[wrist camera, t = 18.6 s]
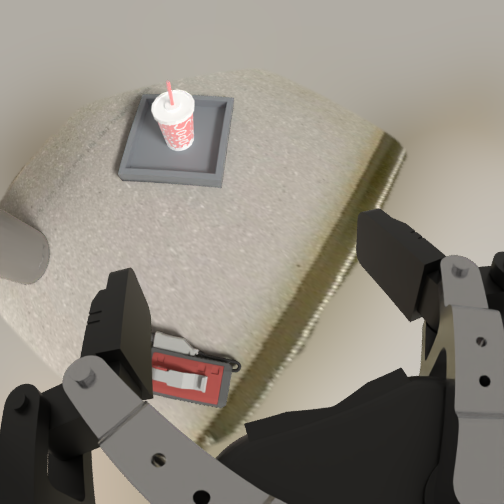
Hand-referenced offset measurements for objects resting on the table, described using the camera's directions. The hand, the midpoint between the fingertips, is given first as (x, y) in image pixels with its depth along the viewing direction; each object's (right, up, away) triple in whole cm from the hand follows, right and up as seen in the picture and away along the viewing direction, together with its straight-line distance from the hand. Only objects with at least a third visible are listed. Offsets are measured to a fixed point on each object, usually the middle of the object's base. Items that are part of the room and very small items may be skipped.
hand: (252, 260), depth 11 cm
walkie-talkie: (-12, -15, +31) cm, 36 cm away
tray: (-12, +19, +38) cm, 44 cm away
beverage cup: (-12, +18, +38) cm, 43 cm away
